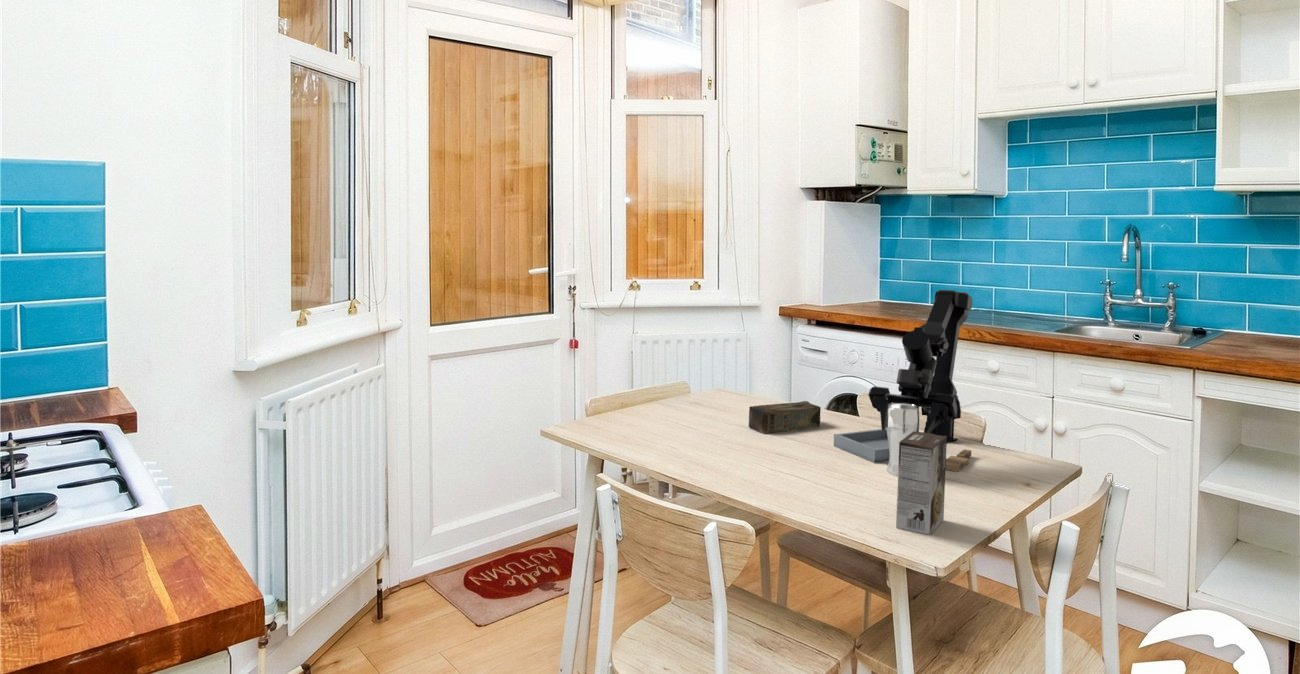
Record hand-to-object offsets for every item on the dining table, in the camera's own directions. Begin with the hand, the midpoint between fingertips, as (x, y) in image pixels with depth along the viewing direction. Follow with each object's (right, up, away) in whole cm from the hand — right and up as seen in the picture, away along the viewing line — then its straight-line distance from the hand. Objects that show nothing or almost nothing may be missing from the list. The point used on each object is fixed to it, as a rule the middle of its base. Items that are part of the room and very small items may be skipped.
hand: (903, 432), depth 176 cm
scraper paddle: (+14, -8, +6) cm, 18 cm away
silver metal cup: (0, -9, +1) cm, 9 cm away
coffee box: (-7, -13, -31) cm, 34 cm away
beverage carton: (-19, -4, +42) cm, 46 cm away
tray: (0, -7, +18) cm, 19 cm away
